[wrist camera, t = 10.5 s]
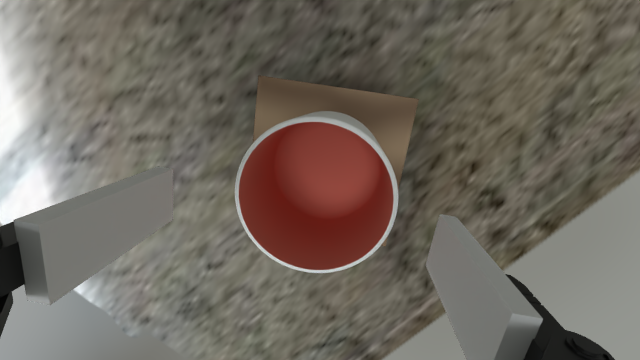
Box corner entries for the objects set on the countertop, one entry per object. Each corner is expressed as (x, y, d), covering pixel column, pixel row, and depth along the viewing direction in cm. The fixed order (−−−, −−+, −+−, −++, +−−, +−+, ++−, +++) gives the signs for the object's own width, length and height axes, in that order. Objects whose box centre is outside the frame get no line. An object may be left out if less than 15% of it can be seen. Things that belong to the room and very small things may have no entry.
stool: (279, 80, 34) (258, 75, 26) (403, 99, 33) (418, 99, 25) (268, 196, 38) (246, 221, 30) (378, 215, 37) (385, 246, 29)
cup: (390, 116, 26) (412, 126, 16) (373, 222, 29) (384, 284, 19) (277, 105, 27) (235, 107, 17) (271, 209, 29) (232, 262, 20)
